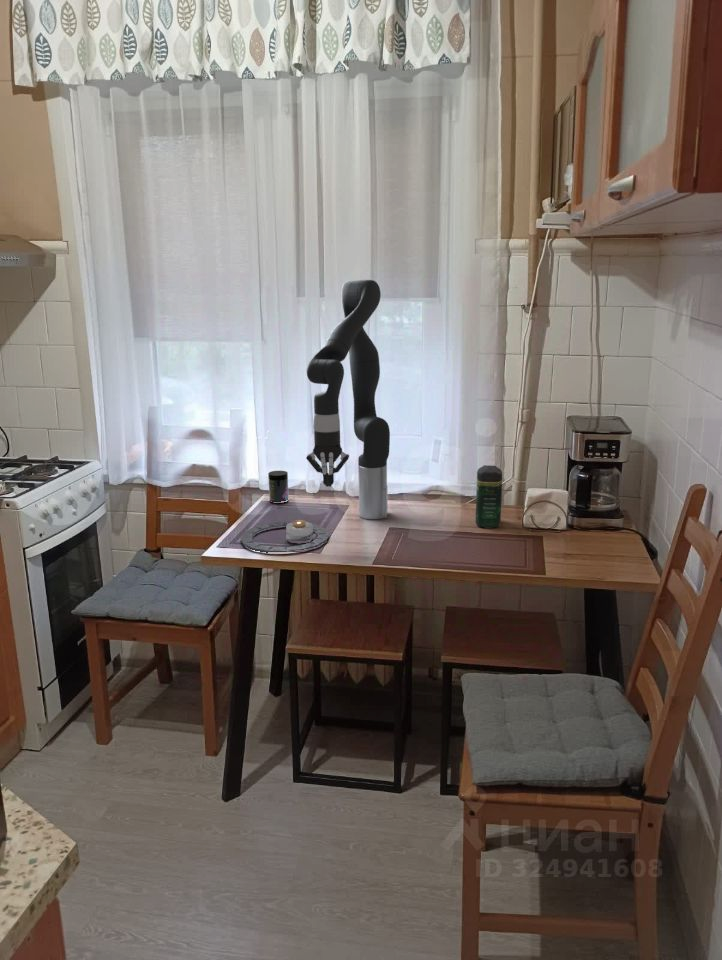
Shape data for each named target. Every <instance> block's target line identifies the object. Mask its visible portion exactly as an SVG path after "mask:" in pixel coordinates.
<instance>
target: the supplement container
mask: <svg viewBox="0 0 722 960" xmlns="http://www.w3.org/2000/svg"><path fill="white" fill-rule="evenodd" d="M267 474H268V475H267V476H268V478H267V479H268V494H269V495H268V496H269V501H272V502H281V501H286V500H288V498H289V479H288V478H289V476H288V471H285V470H272V471H268V473H267ZM288 501H289V500H288Z"/></svg>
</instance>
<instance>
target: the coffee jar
mask: <svg viewBox="0 0 722 960" xmlns="http://www.w3.org/2000/svg"><path fill="white" fill-rule="evenodd" d="M475 496H476V497H475V524H476V526H477V527H482V528H485V529H492V528H498V527H499V526H501V517H502V501H503V500H502V498H503V497H502V496H503V472H502V469H501V468H499V467H498V466H496V465H490V464H489V465H486V464H484V465H483V466H481V467H479V468H478V469H477V471H476V494H475Z"/></svg>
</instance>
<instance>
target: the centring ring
mask: <svg viewBox="0 0 722 960" xmlns="http://www.w3.org/2000/svg"><path fill="white" fill-rule="evenodd" d="M292 522H293V521H277V522H269V523H268V522H267V523H264V524H261V525H257V526H253V527H251V528H250V529H248V530H246V531H244V532H243V534H242V535H241V537H240V542H241V541H242V542H241V544H242V543H243V544H242V546H243V545H244V546H246V547H248V548H250V549H252V550H255V551H260V552H266V553H268V552H287V551H295V550H304V549H309V548H313V547H317V546H319V545H321V544H322V543H325V542H328V541H327V539H328V540H329V538H330V533H329V532H328V530H327V529H326V528H325V527H323V526H321V525H318V524H316V523H311V524H312V525H313V530H314V531H316V532H317V534H318V536H317V537H316V538H315V539H313V541H311V542H309V543H306V544H298V545H294V546H293V545H292V546H284V547H283V546H269V545H264V544H263V545H262V544H260V543H257V542H255V541H254V540H253V539H252V537H253V535H254V534H256V533H257V532H259V531H261V530H264V529H268V528H271V527H279V526H286V525H287V524H289V523H292ZM328 537H329V538H328ZM253 538H254V537H253ZM244 546H243V547H244Z"/></svg>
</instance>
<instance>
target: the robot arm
mask: <svg viewBox="0 0 722 960" xmlns="http://www.w3.org/2000/svg"><path fill="white" fill-rule="evenodd" d="M380 288H381V287H380V286H379V284H378V282H377V281H376V280H373V279H360V280H359V279H356V280H346V281H345V282H344V283H343V284H342V287H341V294H340V297H341V298H340V299H341V307H342V312H343V317H344V319H341V321H340V322H339V323H338V324H336V326H335V327H333V329H332V330H331V332H330V333H329V336H328V338H327V340H326V342H325V344H324V345H323V347H321V348H320V349H319V351H317V352H316V354H315V355H313V357H312V358H311V359H310V361H309V362H308V364H307V368H306V376H307V379H308V380H309V382H311V383H313V384H318V385H327V387H326V390H325V391H321V392H320V391H319V392H316V393H315V394H314V396H313V405H314V407H313V408H314V409H313V412H314V413H313V414H314V417H313V436H314V437H313V438H314V447H313V449H312V452H311V453H308V454H307V455H306V460H307V462H308V463H309V464H310V465H311V467H313V469H314V470H315V471H316V472H317V473H320V474H322V483H323V485H325V487H332V486H333V485H334V483H335V477H334V475H335V474H336V473H339V472H340V471H341V469H342V467H344V465H345V464H346V462H347V461H348V460H349V458H350V454H347V453H345V452H344V451H343V448H342V446H341V422H340V413H339V411H340V410H339V405H340V404H339V399H340V394H341V388H342V384H343V381H344V375H345V369H344V366H343V364H342V362H343V361H344V360H345V359H346V358H347V356H349V358H348V359H349V369H350V375H351V385H352V387H351V388H352V398H353V432H354V435H355V436H356V438H357V439H358V440H359V441H361V442H362V443H363V452H362V454H360V455H359V456H358V459H357V460H358V461H357V462H358V463H357V465H358V467H357V469H358V471H357V472H358V515H359V517H360V518H361V519H365V520H380V519H387V518H388V512H389V511H388V509H389V507H388V500H389V499H388V469H387V468H388V459H389V456H390V440H391V438H390V435H391V434H390V433H391V431H390V426H389V423H388V422H387V421H386V420H385V419H384V418H382V417H379V416H377V410H376V409H377V408H376V399H375V397H376V391H377V388H378V385H379V380H380V377H381V376H380V375H381V367H380V355H379V352H378V349H377V347H376V345H375V343H374V342H373V341H372V339H371V338H370V336H369V335H368V334H367V332H366V330H365V328H364V326H365V325H366V324H367V322H368V321H369V319H370V318H371V317H372V315H373V314H374V312H375V311H376V310H377V308H378V306H379V304H380V301H381V296H382V295H381V294H382V293H381V289H380ZM338 458H340V461H339V463H338V464H337V465H336V467H335V462H336V461H337V460H338ZM316 459H317V460H318V461H319V462H320V463H321V464H319V462H318V461H317V460H316Z"/></svg>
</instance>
